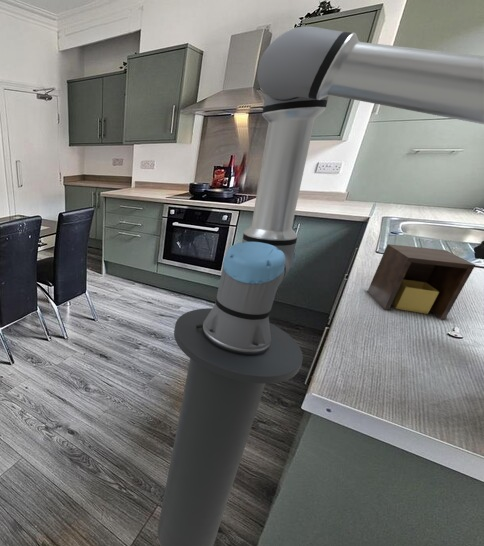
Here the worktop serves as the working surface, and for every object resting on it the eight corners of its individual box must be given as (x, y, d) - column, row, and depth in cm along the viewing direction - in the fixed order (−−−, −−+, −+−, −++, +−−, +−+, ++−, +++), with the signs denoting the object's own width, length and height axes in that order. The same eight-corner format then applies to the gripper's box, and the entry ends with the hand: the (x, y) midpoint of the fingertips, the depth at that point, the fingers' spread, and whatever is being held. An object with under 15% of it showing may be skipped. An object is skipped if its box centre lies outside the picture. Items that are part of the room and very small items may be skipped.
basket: (427, 313, 88) (439, 291, 85) (395, 308, 91) (405, 287, 88) (415, 303, 94) (426, 282, 91) (385, 298, 96) (395, 278, 94)
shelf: (445, 319, 85) (475, 265, 79) (384, 309, 90) (408, 257, 84) (420, 299, 96) (445, 249, 90) (367, 291, 101) (387, 244, 94)
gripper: (548, 203, 51) (441, 263, 71) (679, 211, 46) (523, 273, 67) (541, 167, 53) (438, 235, 74) (664, 170, 48) (518, 243, 69)
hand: (479, 253), depth 70 cm, fingers closed
